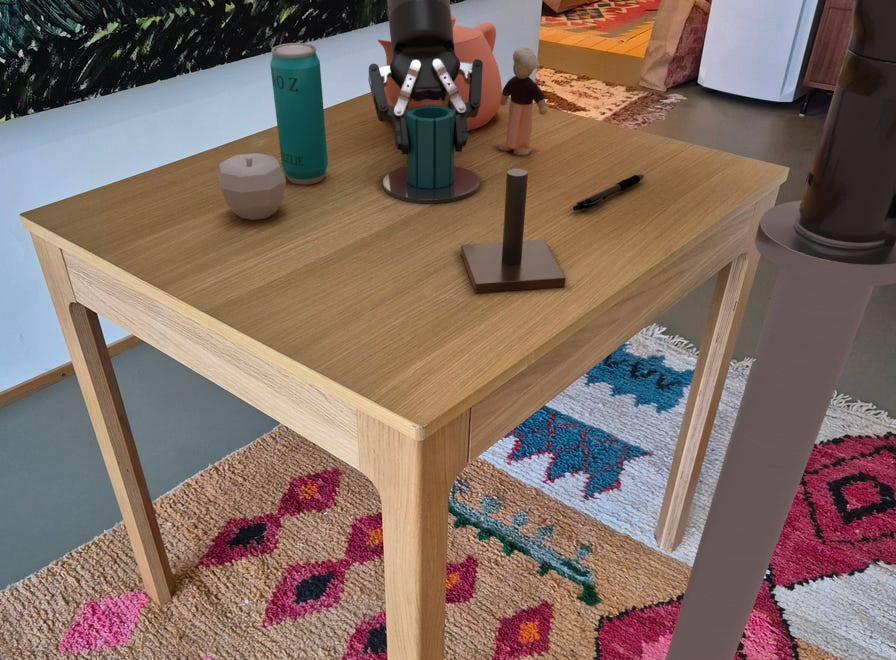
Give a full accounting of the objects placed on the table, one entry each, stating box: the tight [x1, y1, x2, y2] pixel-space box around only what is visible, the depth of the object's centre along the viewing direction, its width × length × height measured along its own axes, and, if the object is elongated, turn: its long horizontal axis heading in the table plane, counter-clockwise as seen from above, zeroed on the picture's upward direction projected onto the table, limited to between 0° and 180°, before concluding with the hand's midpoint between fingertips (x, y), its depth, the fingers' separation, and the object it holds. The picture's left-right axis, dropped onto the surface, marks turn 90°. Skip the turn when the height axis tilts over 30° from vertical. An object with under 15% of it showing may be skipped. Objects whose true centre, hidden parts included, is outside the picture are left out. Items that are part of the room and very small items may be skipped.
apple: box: [217, 152, 287, 221], centre depth 95 cm, size 8×8×7 cm
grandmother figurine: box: [498, 46, 548, 156], centre depth 108 cm, size 8×4×13 cm, turn 55°
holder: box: [460, 168, 567, 294], centre depth 82 cm, size 9×9×10 cm
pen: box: [572, 173, 645, 212], centre depth 99 cm, size 14×2×1 cm, turn 135°
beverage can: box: [269, 42, 329, 185], centre depth 101 cm, size 6×6×15 cm
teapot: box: [377, 14, 503, 132], centre depth 118 cm, size 25×17×13 cm
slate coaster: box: [382, 165, 481, 204], centre depth 103 cm, size 12×12×1 cm
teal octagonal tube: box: [406, 105, 456, 189], centre depth 100 cm, size 6×6×8 cm
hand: (432, 149), depth 99 cm, fingers closed on teal octagonal tube, 6 cm apart
